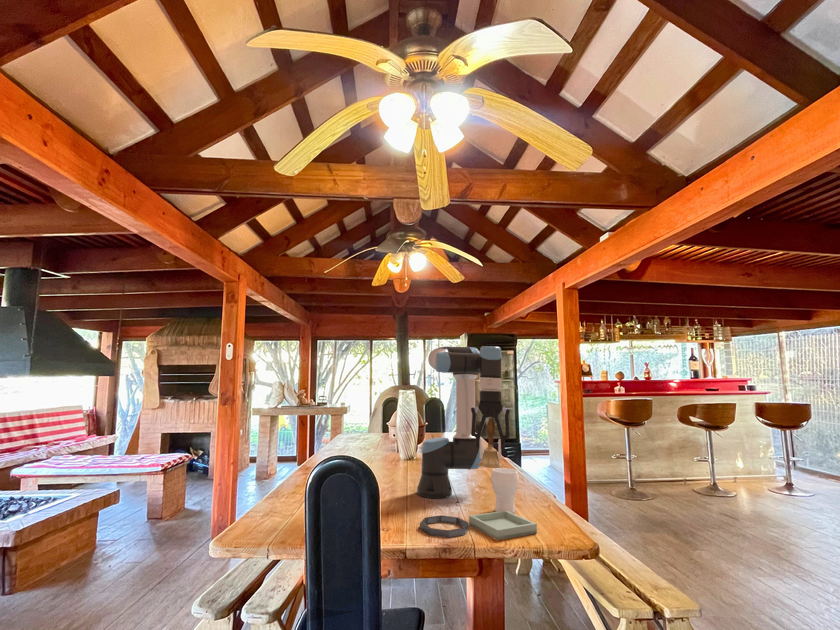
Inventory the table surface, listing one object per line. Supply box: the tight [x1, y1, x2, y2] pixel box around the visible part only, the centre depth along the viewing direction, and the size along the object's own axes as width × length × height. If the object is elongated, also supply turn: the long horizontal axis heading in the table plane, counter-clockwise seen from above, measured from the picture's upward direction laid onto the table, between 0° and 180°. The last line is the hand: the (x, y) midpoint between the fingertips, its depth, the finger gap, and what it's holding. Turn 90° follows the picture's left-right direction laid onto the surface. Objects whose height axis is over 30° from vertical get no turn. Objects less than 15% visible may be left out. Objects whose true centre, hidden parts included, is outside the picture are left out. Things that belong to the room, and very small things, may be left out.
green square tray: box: [468, 510, 538, 541], centre depth 150 cm, size 16×16×3 cm
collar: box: [419, 515, 470, 538], centre depth 149 cm, size 15×15×2 cm
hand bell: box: [478, 417, 503, 469], centre depth 153 cm, size 8×8×16 cm
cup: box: [490, 467, 520, 514], centre depth 171 cm, size 11×11×15 cm
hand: (490, 458), depth 153 cm, fingers closed on hand bell, 6 cm apart
